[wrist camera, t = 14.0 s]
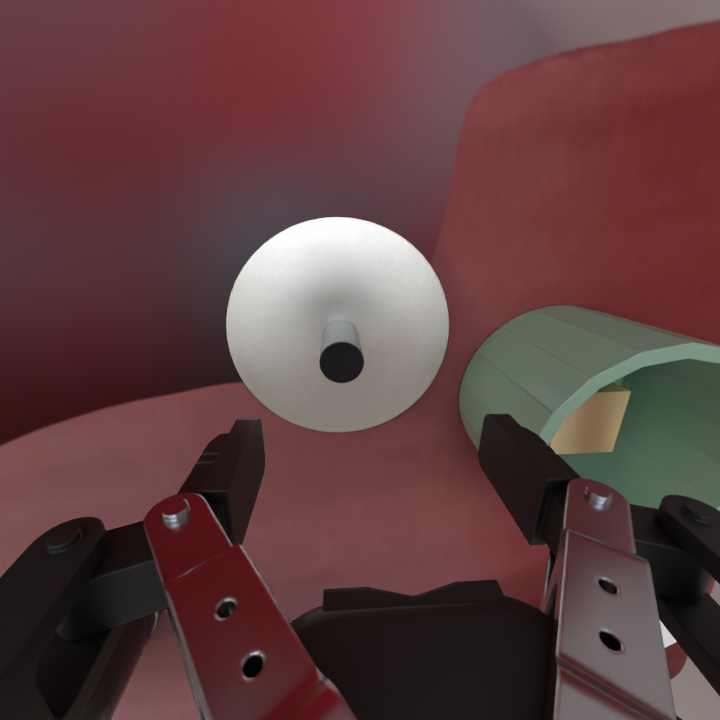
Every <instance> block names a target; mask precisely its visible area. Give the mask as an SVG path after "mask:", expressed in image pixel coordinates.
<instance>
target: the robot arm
mask: <svg viewBox="0 0 720 720" xmlns="http://www.w3.org/2000/svg"><path fill="white" fill-rule="evenodd" d="M478 457H479V462H480V465H481V468H482V469H483V471H484V473H485V474H486V476H487V477H488V479H489V481H490V482H491V484H492V485H493V487H494V489H495V490H496V492H497V493H498V495H499V496H500V498H501V500H502V501H503V503H504V504H505V506H506V508H507V509H508V511H509V512H510V514H511V516H512V517H513V519H514V520H515V522H516V524H517V525H518V527H519V528H520V530H521V532H522V533H523V535H524V536H525V538H526V539H527V541H528V543H529V544H530V545H544V544H547V546H548V547H549V549H550V550H549V554H548V557H547V563H546V570H545V577H544V584H543V591H542V598H541V604H540V610H538V609H537V608H535V607H533V606H531V605H529V604H527V603H524V602H522V601H520V600H517V599H514V598H511V597H507V596H504V595H503V593H502V591H501V589H500V586H499V584H498V582H497V580H482V581H465V582H454V583H451V584H448V585H445V586H443V587H440V588H437V589H434V590H431V591H428V592H426V593H423V594H420V595H417V596H409V595H404V594H399V593H394V592H389V591H384V590H379V589H375V588H370V587H359V588H341V589H324V596H323V606H320V607H317V608H315V609H312V610H310V611H308V612H306V613H304V614H303V615H301V616H300V617H298V618H297V619H295V620H294V621H293V622H291V623H289V621H288V619H287V618H286V616H285V615H284V613H283V611H282V610H281V608H280V606H279V605H278V603H277V602H276V600H275V598H274V597H273V595H272V593H271V592H270V590H269V589H268V587H267V585H266V584H265V582H264V581H263V579H262V577H261V576H260V574H259V572H258V571H257V569H256V568H255V566H254V564H253V563H252V561H251V559H250V558H249V556H248V555H247V553H246V551H245V550H244V548H243V547H242V543H243V540H244V537H245V533H246V530H247V527H248V524H249V520H250V517H251V514H252V510H253V507H254V504H255V501H256V497H257V494H258V491H259V488H260V484H261V481H262V478H263V474H264V468H265V452H264V443H263V433H262V424H261V420H260V419H259V418H257V419H237V420H236V422H235V424H234V425H233V427H232V429H231V431H230V433H229V434H220V435H218V436H217V437H216V438H215V439H213V440H212V441H211V442H209V444H208V445H207V447H206V448H205V450H204V452H203V455H201V457H200V458H199V460H198V461H197V464H196V465H195V466H194V468H193V469H192V471H191V473H190V474H189V476H188V478H187V479H186V481H185V482H184V484H183V486H182V487H181V489H180V491H179V492H178V494H177V495H173V496H171V497H168V498H166V499H164V500H162V501H161V502H159V503H158V504H156V505H155V506H154V507H153V508H152V509H151V510H150V511H149V512H148V513H147V515H146V517H145V519H144V520H143V521H141V522H137V523H134V524H130V525H127V526H123V527H119V528H115V529H112V530H108V531H106V530H105V527H104V524H103V522H102V521H101V520H100V519H98V518H94V517H83V518H77V519H73V520H70V521H67V522H64V523H62V524H60V525H58V526H56V527H54V528H52V529H50V530H48V531H47V532H45V533H44V534H42V535H41V536H40V537H39V538H37V539H36V540H35V541H34V542H33V543H32V544H31V545H30V546H29V547H28V548H27V549H26V550H25V551H24V552H23V554H22V555H21V556H20V557H19V558H18V559H17V560H16V561H15V562H14V563H13V564H12V566H11V567H10V568H9V569H8V570H7V571H6V572H5V573H4V574H3V575H2V576H1V577H0V720H111V719H112V717H113V715H114V712H115V710H116V708H117V706H118V704H119V702H120V700H121V697H122V695H123V693H124V691H125V689H126V687H127V684H128V682H129V680H130V678H131V676H132V674H133V671H134V669H135V667H136V665H137V663H138V661H139V659H140V656H141V654H142V652H143V650H144V648H145V646H146V644H147V643H148V641H149V638H150V636H151V633H152V632H153V631H154V629H155V627H156V625H157V622H158V620H159V618H160V614H161V610H163V609H166V610H167V613H168V616H169V619H170V622H171V626H172V629H173V632H174V635H175V638H176V642H177V645H178V648H179V651H180V654H181V658H182V661H183V664H184V667H185V671H186V674H187V677H188V680H189V684H190V687H191V691H192V694H193V697H194V701H195V704H196V708H197V711H198V714H199V717H200V720H682V719H680V718H679V717H678V716H676V712H675V707H674V701H673V695H672V689H671V683H670V678H669V672H668V666H667V660H666V655H665V649H664V643H663V637H662V631H661V626H660V621H661V622H662V624H663V625H664V626H665V627H666V629H667V630H668V631H669V632H670V634H671V635H672V636H673V637H674V639H675V640H676V641H677V643H678V644H679V645H680V646H681V648H682V649H683V650H684V651H685V653H686V654H687V655H688V657H689V658H690V659H691V660H692V661H693V662H694V664H695V665H696V667H697V668H698V669H699V670H700V672H701V673H702V674H703V675H704V677H705V678H706V679H707V681H708V682H709V683H710V684H711V686H712V687H713V688H714V690H715V691H716V692H717V693H718V695H719V696H720V606H719V605H718V604H717V603H716V601H715V600H714V599H713V598H712V597H711V596H710V595H709V594H708V593H707V592H706V591H707V590H708V588H709V586H710V584H711V582H712V580H713V578H714V579H715V580H716V581H717V582H718V583H719V584H720V511H719V510H717V509H716V508H714V507H712V506H710V505H708V504H706V503H704V502H702V501H699V500H696V499H693V498H690V497H687V496H682V495H667V496H664V497H663V498H662V500H661V503H660V505H659V508H658V509H655V508H650V507H645V506H639V505H634V504H629V503H628V501H627V500H626V498H625V497H624V496H623V495H622V494H620V493H619V492H618V491H616V490H615V489H613V488H612V487H610V486H608V485H606V484H604V483H601V482H598V481H595V480H591V479H584V478H581V477H580V476H579V475H578V474H577V473H576V472H575V471H574V470H573V469H572V468H571V467H570V466H569V465H568V464H567V463H566V462H565V461H564V460H563V459H562V458H561V457H560V456H559V455H558V454H555V451H554V450H553V449H552V448H551V447H550V446H547V443H546V442H545V441H544V440H543V439H542V438H541V437H540V436H539V435H537V434H536V433H534V432H532V431H531V430H529V429H527V428H525V427H521V426H520V425H519V424H518V423H517V421H516V420H515V419H514V418H513V417H512V416H511V415H509V414H486V415H485V417H484V420H483V425H482V432H481V438H480V444H479V450H478Z"/></svg>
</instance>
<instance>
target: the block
mask: <svg viewBox="0 0 720 720" xmlns="http://www.w3.org/2000/svg"><path fill="white" fill-rule="evenodd" d="M630 393H631V391H629V390H627V389H626V388H624V387H622V386H620V385H618V384H616V383H614V382H612V383H610V384H608V385H606V386H604V387H602V388H600V389H599V390H598V391H596V392H595V393H594V394H593V395H592V396H591V397H590V398H589V399H587V400H586V401H585V402H584V403H583V404H582V405H581V406H580V407H578V408H577V409H576V410H575V411H574V412H573V413H572V414H571V415H569V416H568V417H567V418H566V419H565V420H564V421H563V423H562V424H561V426H560V427H559V429H558V430H557V432H556V434H555V435H554V437H553V438H552V440H551V441H550V443H549V445H548V446H550V447H551V448H552V449H553V450H554V451H555V454H578V453H601V452H612V451H613V448H614V444H615V441H616V438H617V435H618V432H619V428H620V425H621V422H622V419H623V416H624V412H625V409H626V406H627V403H628V400H629V396H630Z"/></svg>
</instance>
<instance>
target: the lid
mask: <svg viewBox="0 0 720 720" xmlns="http://www.w3.org/2000/svg"><path fill="white" fill-rule="evenodd" d="M226 330H227V341H228V345H229V350H230V354H231V357H232V360H233V362H234V365H235V367H236V369H237V371H238V373H239V375H240V377H241V379H242V380H243V382H244V383H245V385H246V386H247V388H248V389H249V390H250V391H251V393H252V394H253V395H254V396H255V397H256V398H257V399H258V400H259V401H260V402H261V403H262V404H263V405H264V406H266V407H267V408H268V409H269V410H271V411H272V412H274V413H275V414H277V415H278V416H280V417H282V418H283V419H285V420H287V421H289V422H291V423H294V424H296V425H299V426H302V427H305V428H309V429H313V430H317V431H325V432H352V431H358V430H363V429H368V428H371V427H374V426H377V425H380V424H382V423H384V422H386V421H389V420H391V419H393V418H394V417H396V416H398V415H399V414H401V413H403V412H404V411H405V410H406V409H408V408H409V407H410V406H412V405H413V404H414V403H415V402H416V401H417V400H418V399H419V398H420V397H421V396H422V395H423V394H424V392H425V391H426V390H427V388H428V387H429V386H430V385H431V383H432V381H433V380H434V378H435V376H436V375H437V373H438V371H439V368H440V366H441V364H442V362H443V358H444V355H445V352H446V349H447V343H448V337H449V314H448V306H447V302H446V298H445V293H444V291H443V288H442V286H441V283H440V281H439V279H438V277H437V275H436V273H435V271H434V270H433V268H432V266H431V265H430V264H429V262H428V261H427V260H426V259H425V257H424V256H423V255H422V254H421V253H420V252H419V251H418V250H417V249H416V248H415V247H414V246H413V245H412V244H411V243H410V242H409V241H407V240H406V239H405V238H403V237H402V236H400V235H399V234H397V233H395V232H393V231H392V230H390V229H388V228H386V227H384V226H381V225H379V224H376V223H374V222H371V221H366V220H362V219H358V218H351V217H322V218H317V219H313V220H308V221H304V222H302V223H299V224H296V225H293V226H290V227H289V228H287V229H285V230H283V231H281V232H279V233H277V234H276V235H274V236H273V237H272V238H270V239H269V240H268V241H266V242H265V243H264V244H263V245H262V246H261V247H260V248H259V249H258V250H257V251H256V252H255V253H254V254H253V255H252V256H251V257H250V259H249V260H248V261H247V263H246V264H245V265H244V266H243V268H242V270H241V272H240V274H239V275H238V277H237V279H236V281H235V283H234V286H233V289H232V292H231V294H230V298H229V303H228V308H227V318H226Z"/></svg>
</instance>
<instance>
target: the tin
mask: <svg viewBox="0 0 720 720" xmlns="http://www.w3.org/2000/svg"><path fill="white" fill-rule="evenodd" d="M612 382H614V383H616V384H618V385H620V386H622V387H624V388H626V389H627V390H629V391H631V393H630V396H629V400H628V403H627V406H626V409H625V412H624V416H623V419H622V422H621V425H620V428H619V432H618V435H617V438H616V441H615V444H614V448H613V451H612V452H601V453H578V454H558V455H559V456H560V457H561V458H562V459H563V460H564V461H565V462H566V463H567V464H568V465H569V466H570V467H571V468H572V469H573V470H574V471H575V472H576V473H577V474H578V475H579V476H580V477H581V478H584V479H591V480H595V481H598V482H601V483H604V484H606V485H608V486H610V487H612V488H613V489H615V490H616V491H618V492H619V493H620V494H622V495H623V496H624V497H625V498H626V500H627V501H628V503H629V504H634V505H639V506H645V507H650V508H655V509H658V508H659V505H660V503H661V500H662V498H663V497H664V496H667V495H682V496H687V497H690V498H693V499H696V500H699V501H702V502H704V503H706V504H708V505H710V506H712V507H714V508H716V509H717V510H719V511H720V345H718V344H714V343H710V342H707V341H703V340H700V339H696V338H693V337H689V336H685V335H682V334H678V333H675V332H671V331H668V330H664V329H661V328H657V327H653V326H650V325H646V324H643V323H639V322H636V321H632V320H628V319H625V318H621V317H618V316H614V315H611V314H607V313H604V312H600V311H596V310H591V309H586V308H581V307H577V306H569V305H557V306H548V307H543V308H538V309H535V310H532V311H529V312H526V313H524V314H522V315H520V316H517V317H515V318H513V319H512V320H510V321H509V322H507V323H505V324H504V325H502V326H501V327H500V328H499V329H497V330H496V331H495V332H493V333H492V334H491V335H490V336H489V337H488V338H487V339H486V340H485V341H484V342H483V344H482V345H481V346H480V347H479V349H478V350H477V351H476V353H475V354H474V356H473V357H472V359H471V360H470V362H469V364H468V367H467V369H466V371H465V373H464V376H463V379H462V383H461V388H460V394H459V407H460V415H461V419H462V422H463V425H464V427H465V429H466V432H467V434H468V436H469V438H470V439H471V441H472V442H473V444H474V445H475V447H476V448H477V450H479V444H480V438H481V432H482V425H483V420H484V417H485V415H486V414H509V415H511V416H512V417H513V418H514V419H515V420H516V421H517V423H518V424H519V425H520V426H521V427H525V428H527V429H529V430H531V431H532V432H534V433H536V434H537V435H539V436H540V437H541V438H542V439H543V440H544V441H545V442H546V443H547V446H548V445H549V443H550V441H551V440H552V438H553V437H554V435H555V434H556V432H557V430H558V429H559V427H560V426H561V424H562V423H563V421H564V420H565V419H566V418H567V417H568V416H569V415H571V414H572V413H573V412H574V411H575V410H576V409H577V408H578V407H580V406H581V405H582V404H583V403H584V402H585V401H586V400H587V399H589V398H590V397H591V396H592V395H593V394H594V393H595V392H596V391H598V390H599V389H600V388H602V387H604V386H606V385H608V384H610V383H612ZM545 545H546V546H547V544H545Z"/></svg>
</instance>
